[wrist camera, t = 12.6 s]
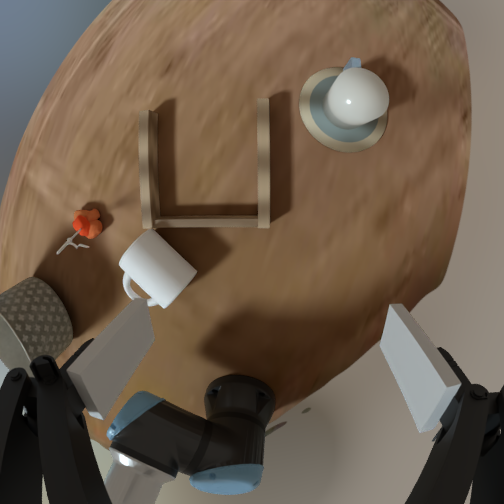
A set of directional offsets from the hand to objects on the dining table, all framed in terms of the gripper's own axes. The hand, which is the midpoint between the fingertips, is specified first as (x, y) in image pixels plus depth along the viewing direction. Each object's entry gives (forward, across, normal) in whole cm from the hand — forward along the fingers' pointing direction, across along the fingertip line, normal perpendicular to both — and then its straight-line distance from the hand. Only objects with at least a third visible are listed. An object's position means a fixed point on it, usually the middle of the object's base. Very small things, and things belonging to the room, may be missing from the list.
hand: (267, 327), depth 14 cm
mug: (+29, -19, -8) cm, 36 cm away
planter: (+29, -52, -20) cm, 63 cm away
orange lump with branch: (+29, -32, 0) cm, 43 cm away
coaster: (+29, +11, +18) cm, 36 cm away
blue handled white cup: (+28, +11, +19) cm, 36 cm away
